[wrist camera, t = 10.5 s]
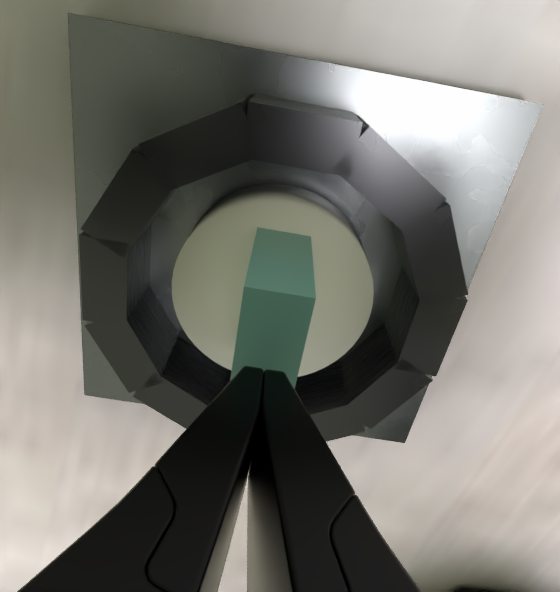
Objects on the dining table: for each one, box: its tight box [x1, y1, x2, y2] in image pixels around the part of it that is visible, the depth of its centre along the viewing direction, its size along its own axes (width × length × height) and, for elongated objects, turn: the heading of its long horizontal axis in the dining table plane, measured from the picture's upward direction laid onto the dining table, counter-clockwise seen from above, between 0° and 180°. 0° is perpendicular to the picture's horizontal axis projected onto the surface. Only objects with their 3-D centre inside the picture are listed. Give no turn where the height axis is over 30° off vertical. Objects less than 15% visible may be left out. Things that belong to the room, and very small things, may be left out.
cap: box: [172, 184, 374, 389], centre depth 12 cm, size 6×6×5 cm
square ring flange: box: [68, 13, 543, 443], centre depth 14 cm, size 12×12×3 cm
